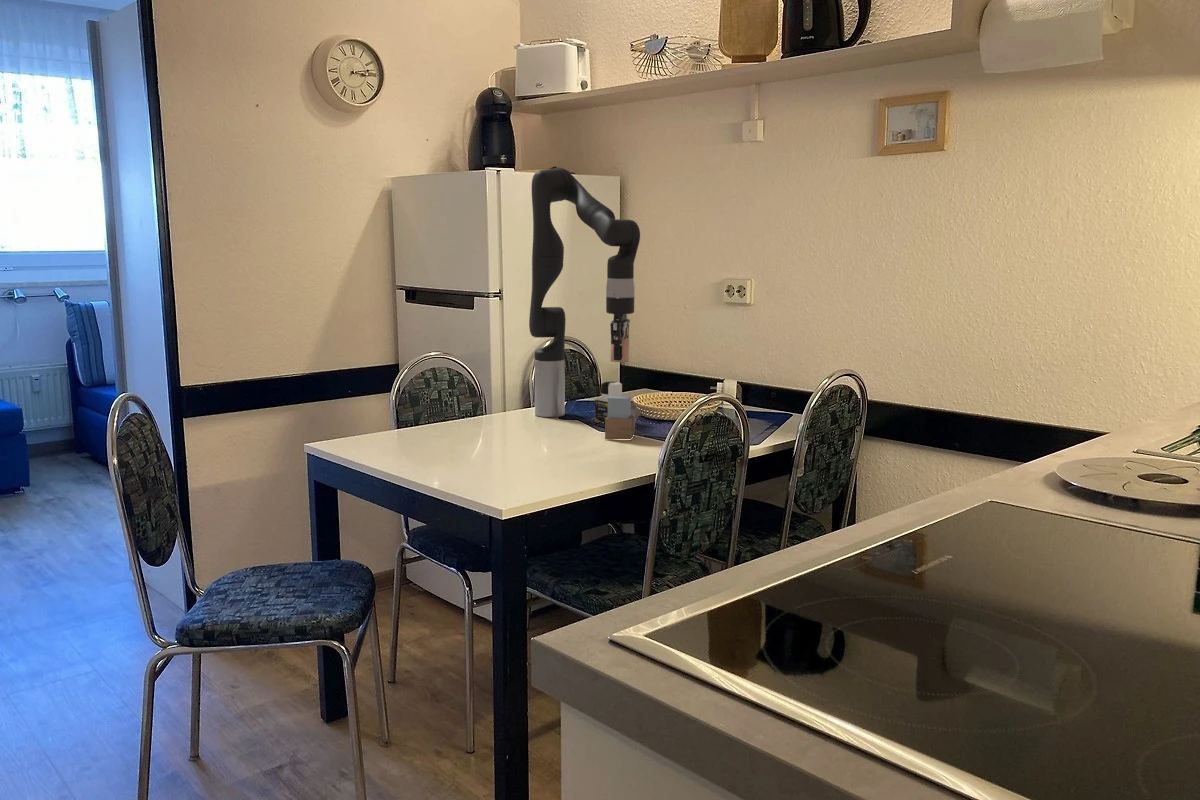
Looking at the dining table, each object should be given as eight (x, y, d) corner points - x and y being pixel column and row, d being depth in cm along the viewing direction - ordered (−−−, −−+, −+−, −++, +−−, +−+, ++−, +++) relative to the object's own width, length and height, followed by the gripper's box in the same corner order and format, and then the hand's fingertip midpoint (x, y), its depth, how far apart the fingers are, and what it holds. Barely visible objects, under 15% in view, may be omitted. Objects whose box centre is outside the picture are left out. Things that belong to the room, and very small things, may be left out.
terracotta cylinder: (612, 359, 258) (612, 337, 257) (630, 360, 257) (630, 338, 256) (608, 361, 253) (608, 339, 252) (627, 362, 252) (627, 339, 251)
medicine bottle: (594, 421, 282) (594, 382, 280) (612, 418, 286) (612, 379, 284) (610, 425, 276) (611, 384, 274) (628, 422, 281) (628, 382, 279)
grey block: (611, 414, 261) (611, 394, 260) (630, 415, 260) (630, 395, 259) (607, 418, 256) (607, 398, 255) (627, 418, 255) (627, 398, 254)
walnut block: (610, 435, 263) (610, 413, 262) (634, 436, 261) (635, 414, 260) (605, 440, 256) (605, 418, 255) (630, 441, 255) (630, 419, 254)
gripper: (612, 294, 260) (611, 355, 263) (600, 296, 246) (600, 361, 249) (639, 294, 259) (638, 356, 261) (628, 297, 245) (628, 362, 247)
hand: (619, 358), depth 255 cm, fingers closed on terracotta cylinder, 5 cm apart
